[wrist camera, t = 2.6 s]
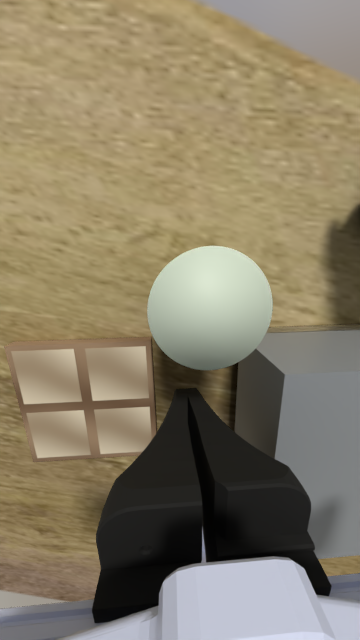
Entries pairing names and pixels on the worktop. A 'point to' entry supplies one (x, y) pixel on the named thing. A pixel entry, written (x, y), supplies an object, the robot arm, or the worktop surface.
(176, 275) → the pin
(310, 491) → the cover
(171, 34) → the worktop surface
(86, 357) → the board
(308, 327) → the rails
